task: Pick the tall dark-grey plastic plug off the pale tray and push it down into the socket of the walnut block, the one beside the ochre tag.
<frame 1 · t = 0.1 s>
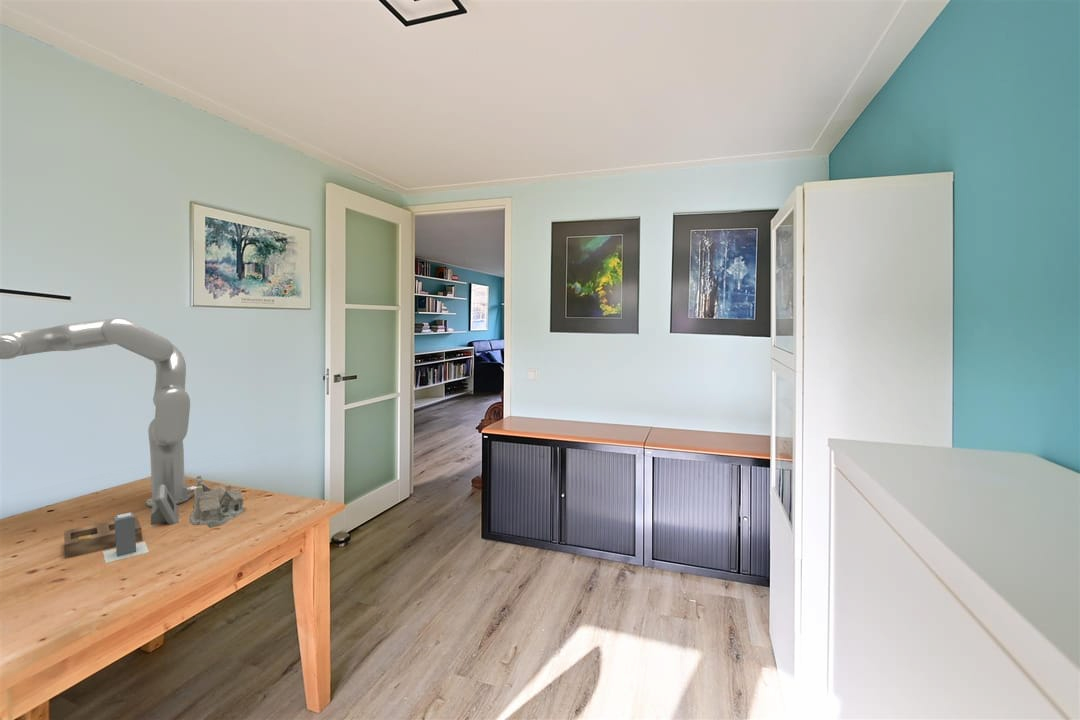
plug: (126, 551, 133), point 1 cm above the table, touching tray
socket block: (104, 545, 139), on the table
digital clock: (168, 521, 157), on the table
ceramic cottage: (216, 518, 160), on the table
tray: (126, 555, 133), on the table
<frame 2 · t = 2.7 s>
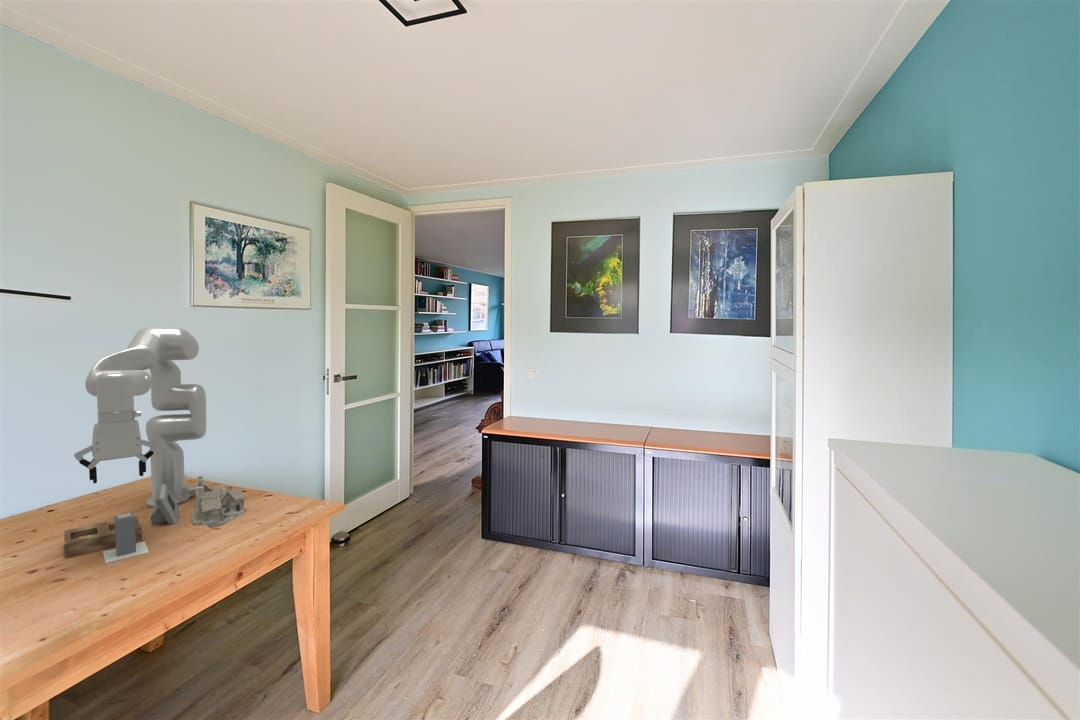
hand: (118, 478, 132), 22 cm above the table, tool pointing down, fingers open, 9 cm apart
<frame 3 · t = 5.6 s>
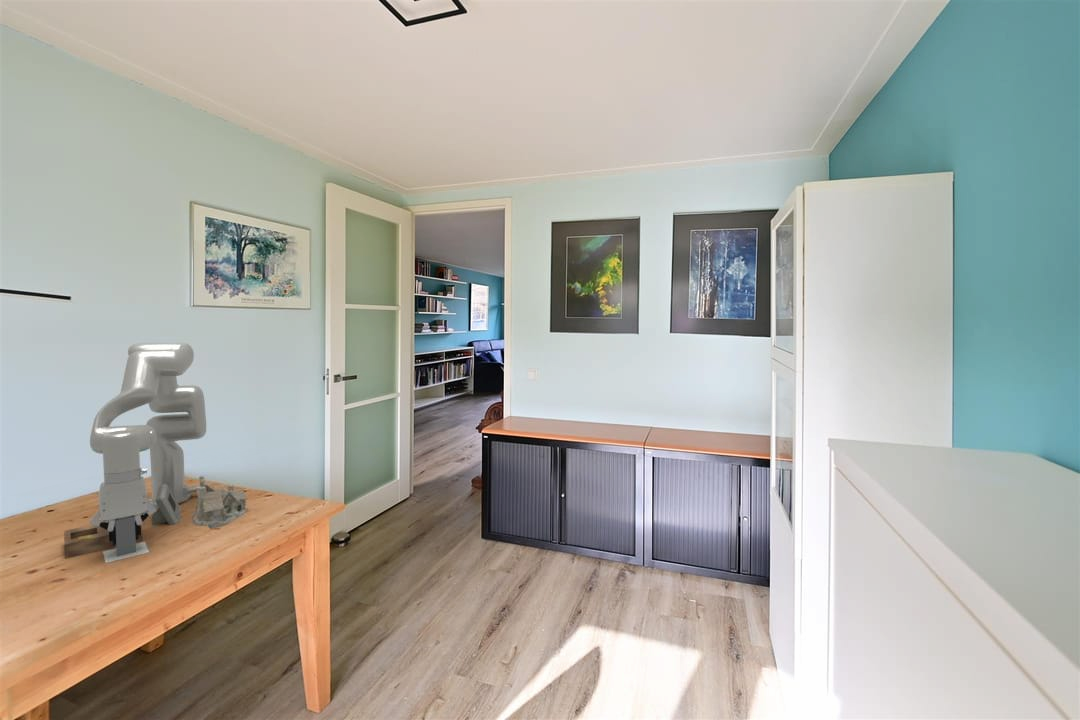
hand: (125, 540, 133), 5 cm above the table, tool pointing down, fingers closed on plug, 4 cm apart
plug: (126, 551, 133), point 1 cm above the table, touching gripper, tray
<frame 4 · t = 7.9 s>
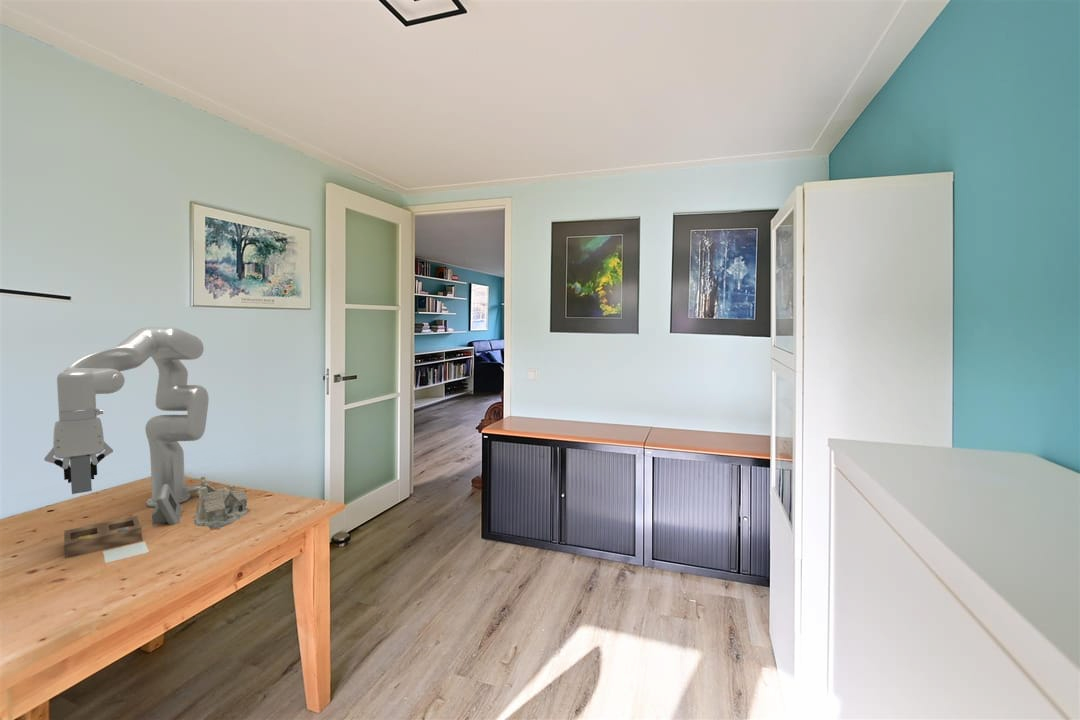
hand: (81, 479, 134), 21 cm above the table, tool pointing down, fingers closed on plug, 4 cm apart
plug: (81, 490, 135), point 17 cm above the table, touching gripper
when the fingers open (6 cm above the table, at t = 10.7 s): plug drops 2 cm, resting on socket block.
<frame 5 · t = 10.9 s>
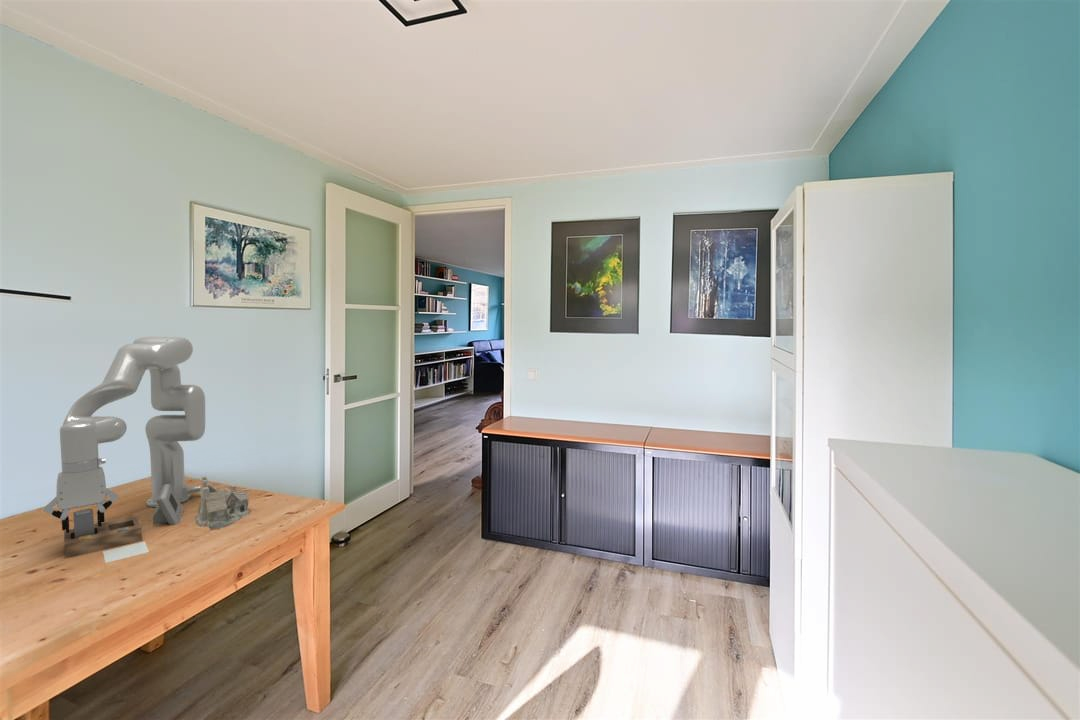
hand: (83, 527, 135), 7 cm above the table, tool pointing down, fingers open, 6 cm apart
plug: (85, 546, 136), point 1 cm above the table, touching socket block
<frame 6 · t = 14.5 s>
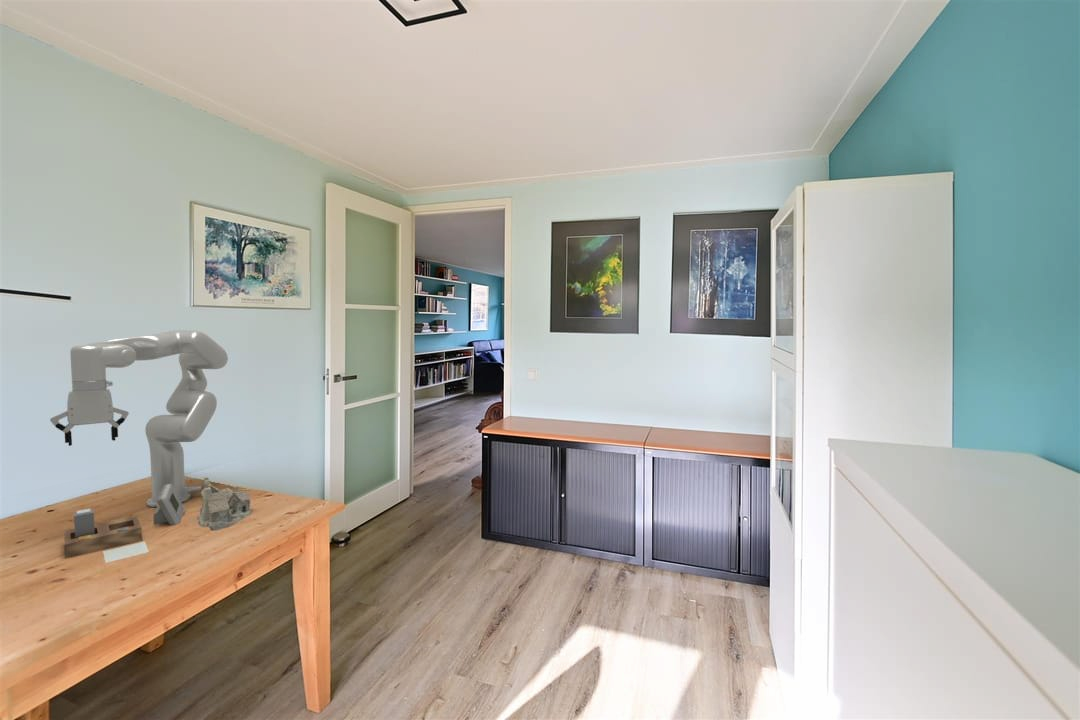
hand: (92, 442, 145), 28 cm above the table, tool pointing down, fingers open, 9 cm apart
at the end: plug 0.1 cm from the target spot on the socket block, point 1.0 cm above the socket block's base; plug tilted 0°; the gripper is holding nothing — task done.
